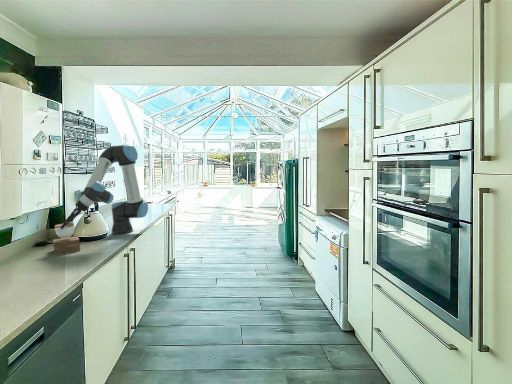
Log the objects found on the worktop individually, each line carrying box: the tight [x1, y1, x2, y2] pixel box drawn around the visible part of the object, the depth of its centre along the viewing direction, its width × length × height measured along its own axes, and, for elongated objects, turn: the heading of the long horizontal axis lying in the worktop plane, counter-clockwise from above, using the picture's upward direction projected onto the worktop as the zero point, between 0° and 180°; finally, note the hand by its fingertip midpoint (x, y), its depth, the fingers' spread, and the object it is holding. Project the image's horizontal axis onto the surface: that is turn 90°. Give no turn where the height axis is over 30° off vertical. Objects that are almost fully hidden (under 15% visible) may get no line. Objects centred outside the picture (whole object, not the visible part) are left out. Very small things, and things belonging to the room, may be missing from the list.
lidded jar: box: [54, 222, 75, 239], centre depth 243 cm, size 11×11×9 cm
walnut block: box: [52, 235, 81, 255], centre depth 244 cm, size 14×14×7 cm
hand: (59, 230), depth 242 cm, fingers closed on lidded jar, 11 cm apart
